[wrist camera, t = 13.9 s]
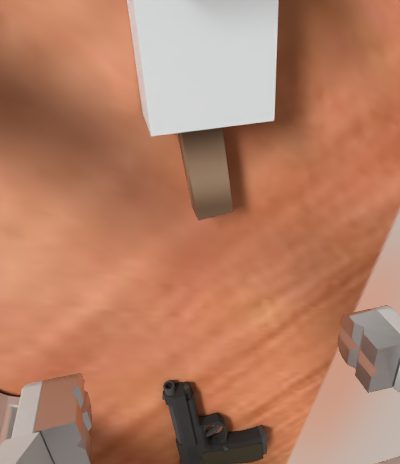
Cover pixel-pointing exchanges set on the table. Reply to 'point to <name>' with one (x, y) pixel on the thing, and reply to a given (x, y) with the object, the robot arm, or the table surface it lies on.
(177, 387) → the handgun
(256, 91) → the tunnel block
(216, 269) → the table surface
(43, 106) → the table surface
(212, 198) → the walnut bar
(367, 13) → the table surface
